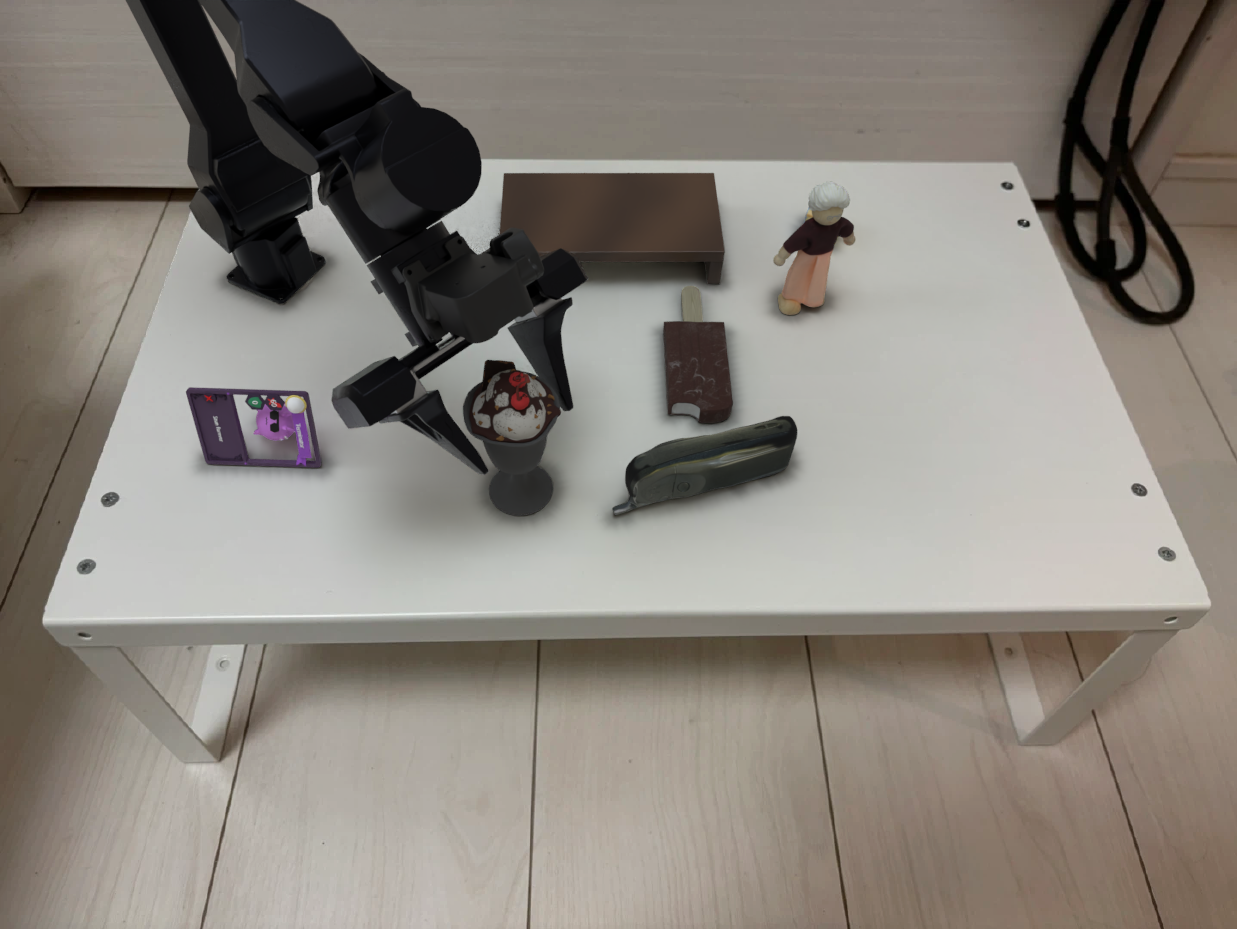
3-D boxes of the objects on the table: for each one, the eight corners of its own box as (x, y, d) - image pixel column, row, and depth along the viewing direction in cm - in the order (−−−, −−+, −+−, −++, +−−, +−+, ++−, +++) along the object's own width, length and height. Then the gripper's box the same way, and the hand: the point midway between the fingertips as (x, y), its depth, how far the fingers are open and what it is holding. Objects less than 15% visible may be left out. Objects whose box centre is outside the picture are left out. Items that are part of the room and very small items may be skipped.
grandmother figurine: (785, 329, 82) (812, 215, 72) (758, 302, 84) (781, 188, 74) (850, 296, 85) (886, 181, 74) (823, 271, 87) (854, 156, 76)
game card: (181, 394, 68) (303, 398, 68) (208, 360, 72) (323, 364, 72) (202, 469, 72) (318, 473, 72) (226, 432, 76) (336, 436, 76)
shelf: (501, 285, 85) (498, 252, 81) (507, 206, 91) (503, 172, 88) (719, 284, 85) (724, 251, 82) (709, 206, 92) (714, 172, 88)
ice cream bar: (660, 293, 84) (667, 424, 76) (661, 280, 83) (669, 411, 74) (718, 294, 85) (732, 424, 76) (720, 280, 83) (734, 411, 75)
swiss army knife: (789, 405, 71) (605, 454, 68) (807, 434, 69) (620, 487, 66) (777, 444, 75) (603, 493, 72) (794, 473, 74) (617, 524, 70)
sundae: (553, 533, 70) (544, 407, 57) (467, 516, 70) (440, 389, 58) (573, 463, 73) (569, 331, 61) (491, 448, 74) (471, 315, 62)
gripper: (312, 294, 50) (468, 528, 54) (566, 145, 57) (683, 360, 62) (271, 321, 59) (407, 517, 64) (494, 190, 67) (600, 373, 72)
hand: (527, 440), depth 65 cm, fingers open, 8 cm apart
